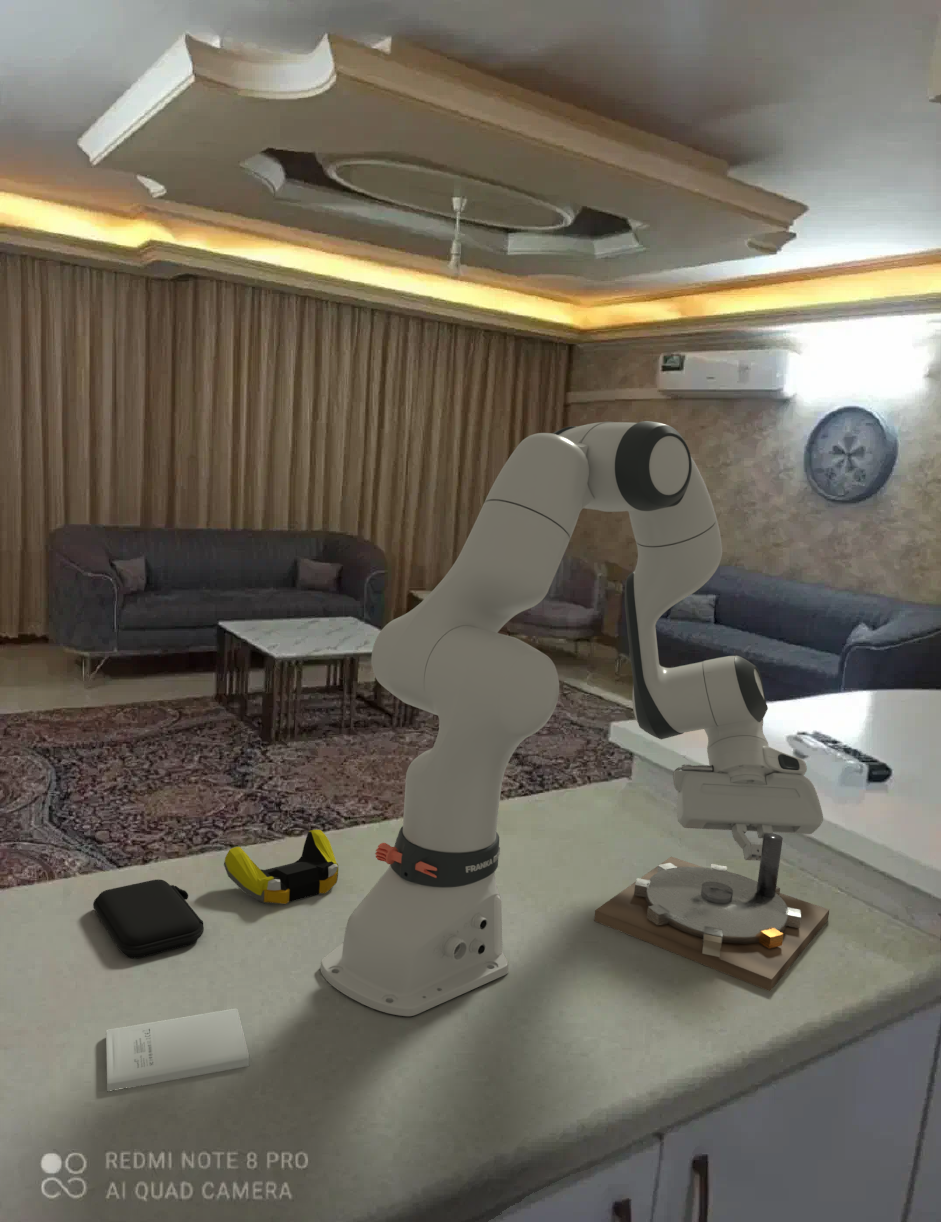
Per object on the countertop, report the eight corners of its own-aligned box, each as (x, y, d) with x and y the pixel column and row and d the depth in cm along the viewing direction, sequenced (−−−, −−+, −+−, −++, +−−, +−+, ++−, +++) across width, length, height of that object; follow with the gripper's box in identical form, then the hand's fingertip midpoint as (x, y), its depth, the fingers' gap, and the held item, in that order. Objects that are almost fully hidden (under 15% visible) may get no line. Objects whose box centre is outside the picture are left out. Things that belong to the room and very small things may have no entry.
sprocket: (764, 968, 106) (775, 891, 104) (608, 907, 118) (615, 838, 116) (817, 907, 122) (826, 840, 121) (675, 859, 134) (682, 798, 133)
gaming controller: (218, 885, 121) (251, 917, 113) (219, 846, 120) (253, 875, 112) (319, 860, 130) (355, 888, 122) (320, 824, 129) (357, 850, 121)
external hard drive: (249, 1071, 86) (106, 1097, 81) (236, 1020, 93) (105, 1041, 88) (249, 1055, 85) (106, 1081, 81) (237, 1006, 93) (105, 1026, 88)
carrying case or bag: (217, 943, 107) (175, 892, 118) (218, 919, 106) (175, 870, 118) (124, 968, 100) (89, 911, 112) (124, 943, 100) (89, 888, 111)
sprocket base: (769, 992, 104) (772, 965, 104) (593, 921, 118) (595, 897, 117) (828, 919, 123) (831, 897, 122) (670, 865, 136) (672, 845, 136)
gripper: (677, 754, 130) (689, 847, 122) (816, 761, 131) (837, 854, 123) (665, 773, 135) (676, 864, 127) (799, 780, 137) (818, 870, 128)
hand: (757, 859), depth 125 cm, fingers closed
